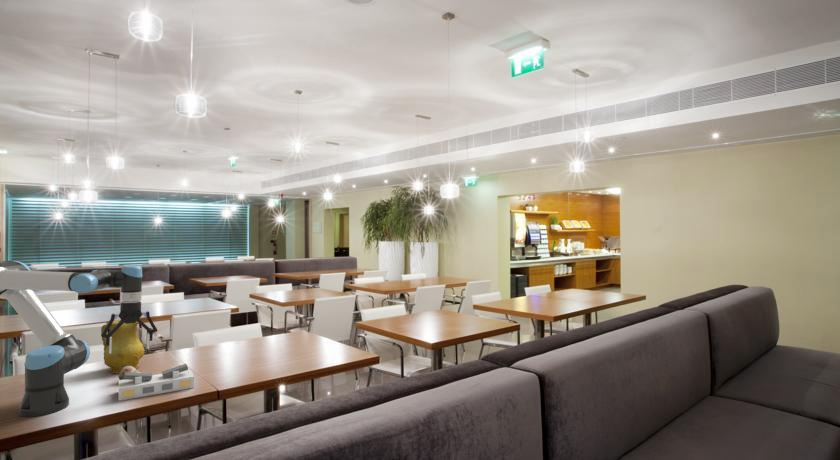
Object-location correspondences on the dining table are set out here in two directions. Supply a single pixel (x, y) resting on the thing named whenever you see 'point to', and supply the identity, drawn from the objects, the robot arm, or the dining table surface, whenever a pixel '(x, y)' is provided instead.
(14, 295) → the robot arm
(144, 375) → the rocker
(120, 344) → the pitcher
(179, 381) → the switch unit
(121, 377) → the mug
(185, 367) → the rocker
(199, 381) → the dining table surface
